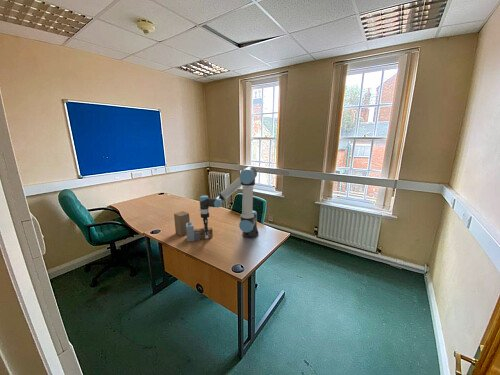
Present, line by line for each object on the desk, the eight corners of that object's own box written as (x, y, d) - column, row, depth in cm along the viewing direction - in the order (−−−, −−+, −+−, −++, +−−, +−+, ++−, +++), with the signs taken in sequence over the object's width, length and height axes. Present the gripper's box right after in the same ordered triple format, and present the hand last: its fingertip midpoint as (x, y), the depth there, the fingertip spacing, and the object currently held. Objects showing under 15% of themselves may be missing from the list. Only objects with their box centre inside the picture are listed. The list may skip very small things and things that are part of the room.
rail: (212, 235, 193) (212, 227, 192) (212, 237, 189) (212, 229, 188) (194, 237, 189) (194, 229, 188) (194, 239, 185) (194, 231, 184)
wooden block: (184, 229, 204) (183, 210, 200) (190, 232, 198) (189, 213, 193) (175, 233, 197) (173, 213, 192) (181, 236, 191) (179, 216, 186)
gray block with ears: (199, 235, 192) (198, 219, 188) (200, 239, 185) (199, 222, 181) (187, 237, 189) (186, 220, 185) (187, 241, 182) (185, 224, 178)
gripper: (199, 208, 195) (201, 229, 200) (201, 218, 172) (202, 241, 177) (207, 207, 197) (209, 228, 202) (210, 217, 173) (211, 240, 178)
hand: (206, 234), depth 189 cm, fingers open, 13 cm apart
